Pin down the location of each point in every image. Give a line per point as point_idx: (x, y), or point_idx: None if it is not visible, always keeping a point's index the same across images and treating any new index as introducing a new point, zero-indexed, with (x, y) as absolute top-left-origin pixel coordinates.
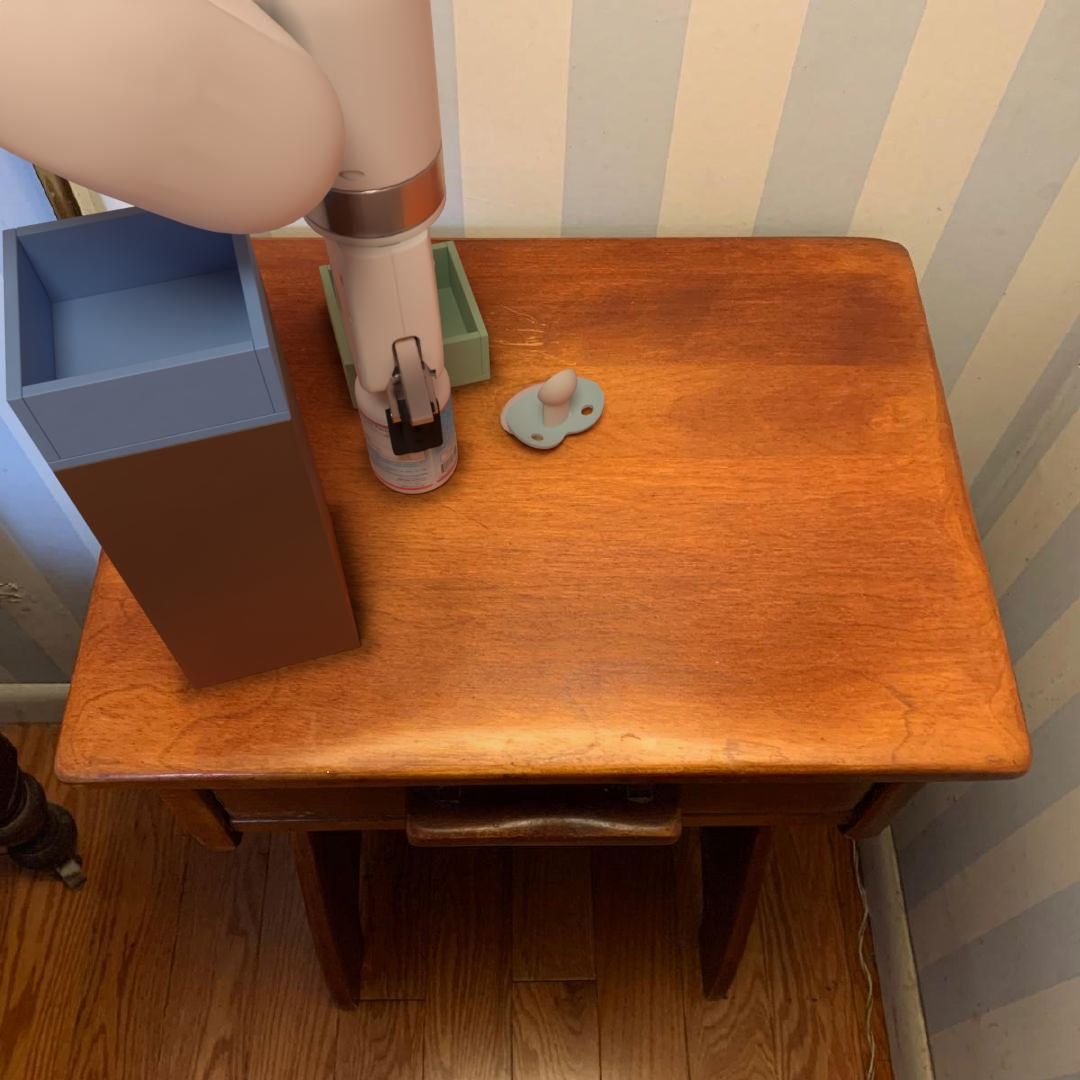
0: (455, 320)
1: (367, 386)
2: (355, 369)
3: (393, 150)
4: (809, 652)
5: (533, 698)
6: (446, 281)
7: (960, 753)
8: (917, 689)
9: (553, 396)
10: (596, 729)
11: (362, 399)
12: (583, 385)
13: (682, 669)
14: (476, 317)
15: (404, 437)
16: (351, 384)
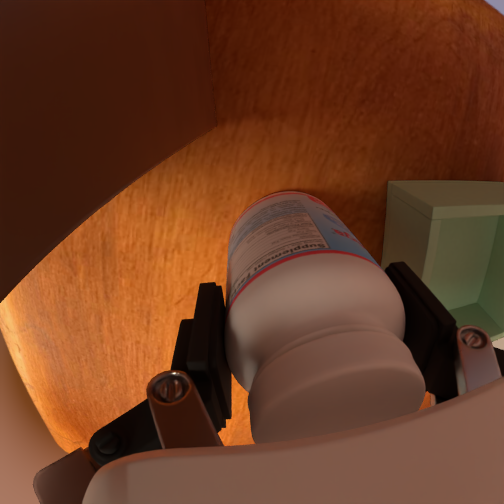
0: (445, 305)
1: (84, 499)
2: (222, 457)
3: None
4: (91, 430)
5: (23, 304)
6: (481, 303)
7: (59, 443)
8: (83, 447)
9: None
10: (16, 333)
11: (294, 286)
12: None
13: (64, 386)
14: None
15: (184, 338)
16: (410, 197)
